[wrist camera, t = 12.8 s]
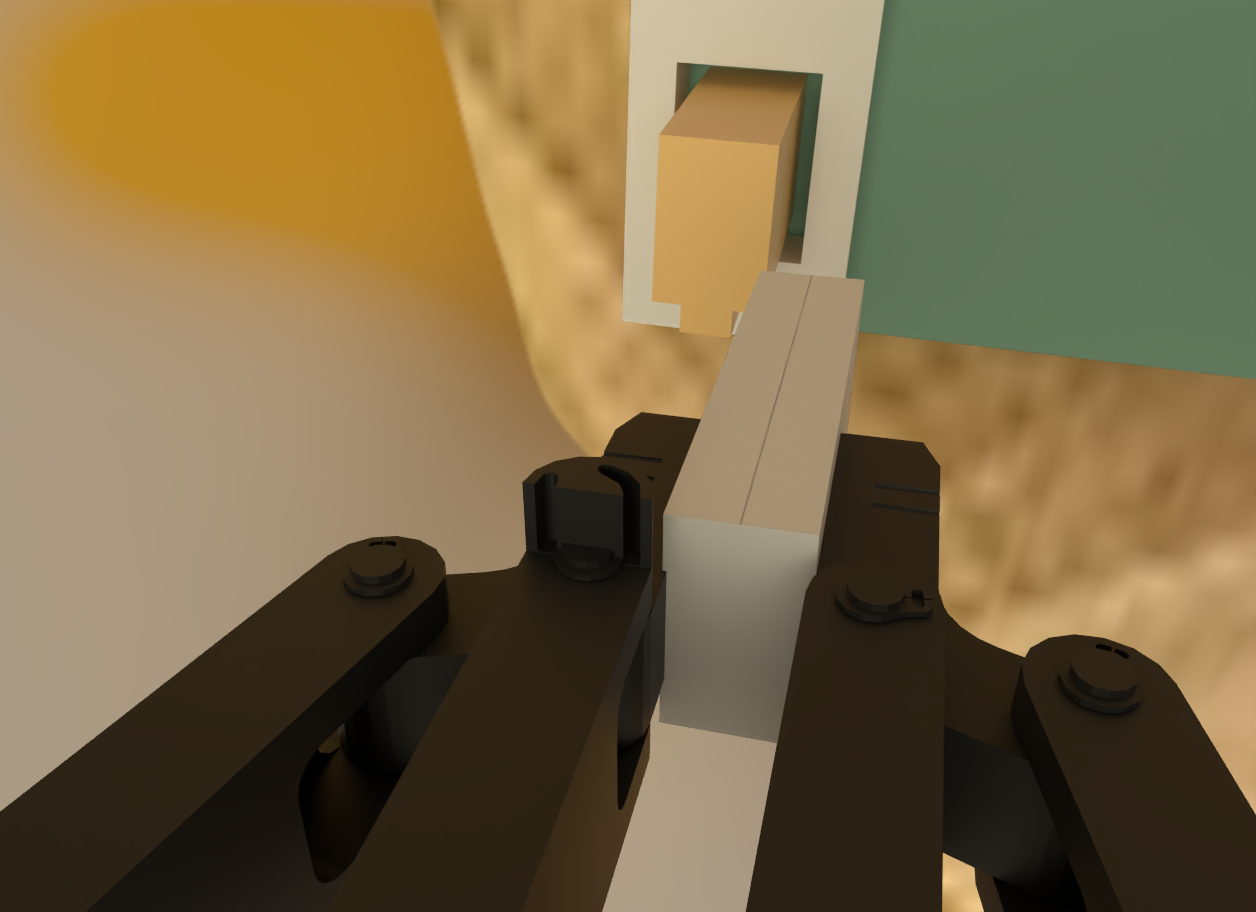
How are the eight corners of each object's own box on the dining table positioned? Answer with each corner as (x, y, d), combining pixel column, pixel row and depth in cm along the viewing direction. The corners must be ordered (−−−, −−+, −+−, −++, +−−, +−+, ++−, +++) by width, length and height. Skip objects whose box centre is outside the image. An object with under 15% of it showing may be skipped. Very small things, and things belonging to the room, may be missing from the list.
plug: (807, 74, 34) (779, 145, 27) (789, 239, 37) (759, 342, 30) (710, 66, 34) (658, 134, 28) (700, 230, 37) (650, 328, 30)
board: (1422, -30, 30) (1476, -10, 27) (1273, 368, 36) (1304, 419, 33) (658, -74, 34) (633, -61, 31) (644, 294, 40) (621, 334, 37)
